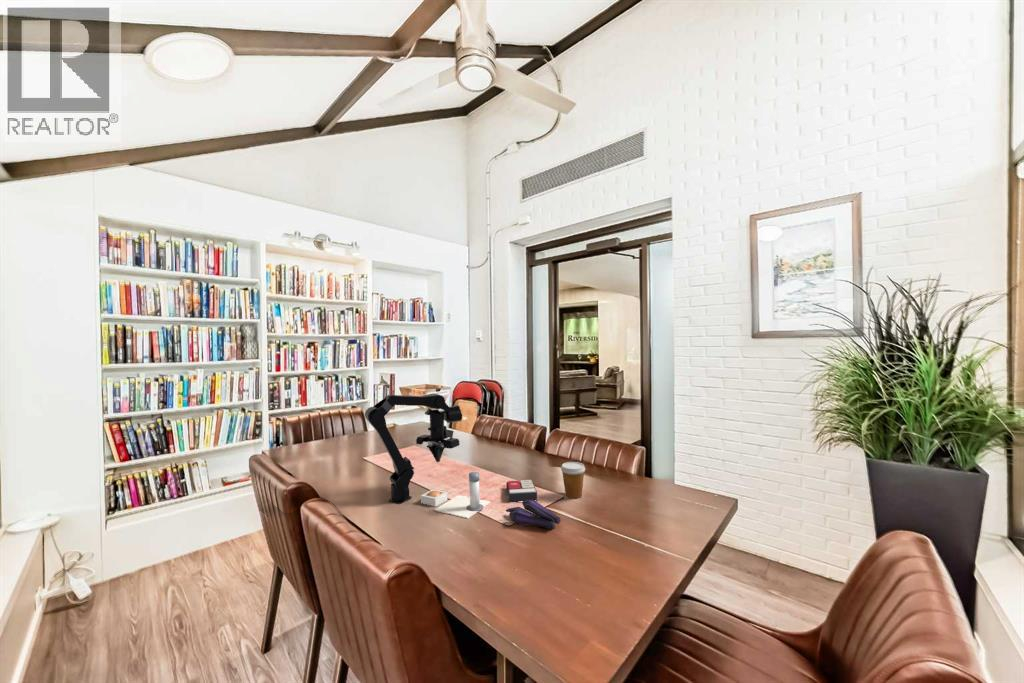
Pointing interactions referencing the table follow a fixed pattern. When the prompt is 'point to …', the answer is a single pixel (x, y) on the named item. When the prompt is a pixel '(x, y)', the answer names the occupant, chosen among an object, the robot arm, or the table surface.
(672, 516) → the table surface
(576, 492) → the disposable coffee cup
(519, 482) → the red gray flat box
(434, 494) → the button
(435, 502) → the button housing
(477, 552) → the table surface
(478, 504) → the white gray cylinder
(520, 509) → the purple stapler
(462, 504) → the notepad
